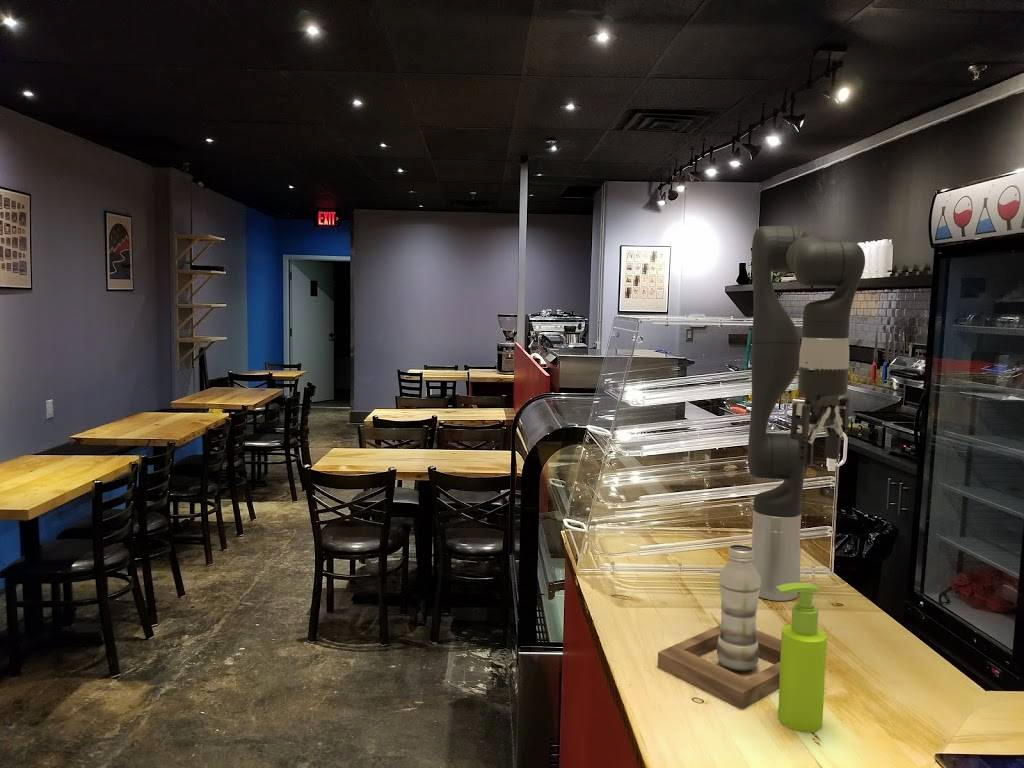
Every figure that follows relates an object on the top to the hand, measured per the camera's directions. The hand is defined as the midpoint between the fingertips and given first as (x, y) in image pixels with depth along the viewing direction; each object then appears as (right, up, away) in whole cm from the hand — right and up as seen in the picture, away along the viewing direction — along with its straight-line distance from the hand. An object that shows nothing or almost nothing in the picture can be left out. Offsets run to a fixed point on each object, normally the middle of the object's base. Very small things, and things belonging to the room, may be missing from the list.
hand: (818, 461), depth 121 cm
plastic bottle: (-14, -34, -2) cm, 37 cm away
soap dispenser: (-11, -35, -18) cm, 41 cm away
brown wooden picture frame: (-15, -33, -3) cm, 37 cm away
